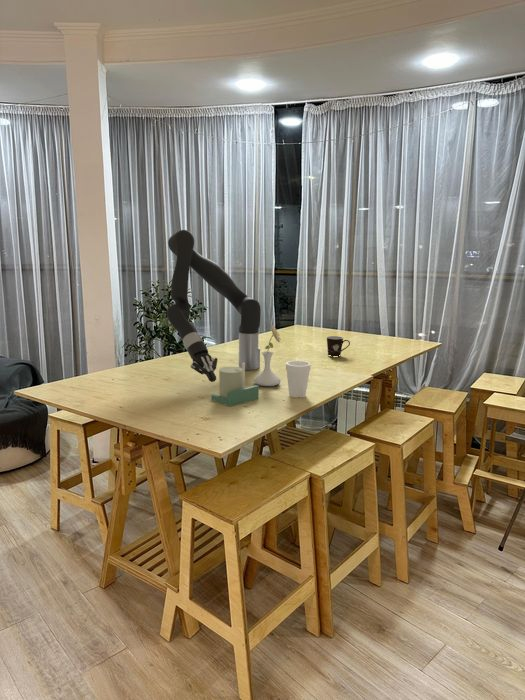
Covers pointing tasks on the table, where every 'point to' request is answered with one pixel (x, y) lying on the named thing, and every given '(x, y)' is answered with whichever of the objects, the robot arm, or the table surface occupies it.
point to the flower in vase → (268, 365)
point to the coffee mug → (335, 345)
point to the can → (229, 380)
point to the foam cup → (297, 377)
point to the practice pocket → (238, 393)
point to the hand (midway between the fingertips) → (213, 380)
